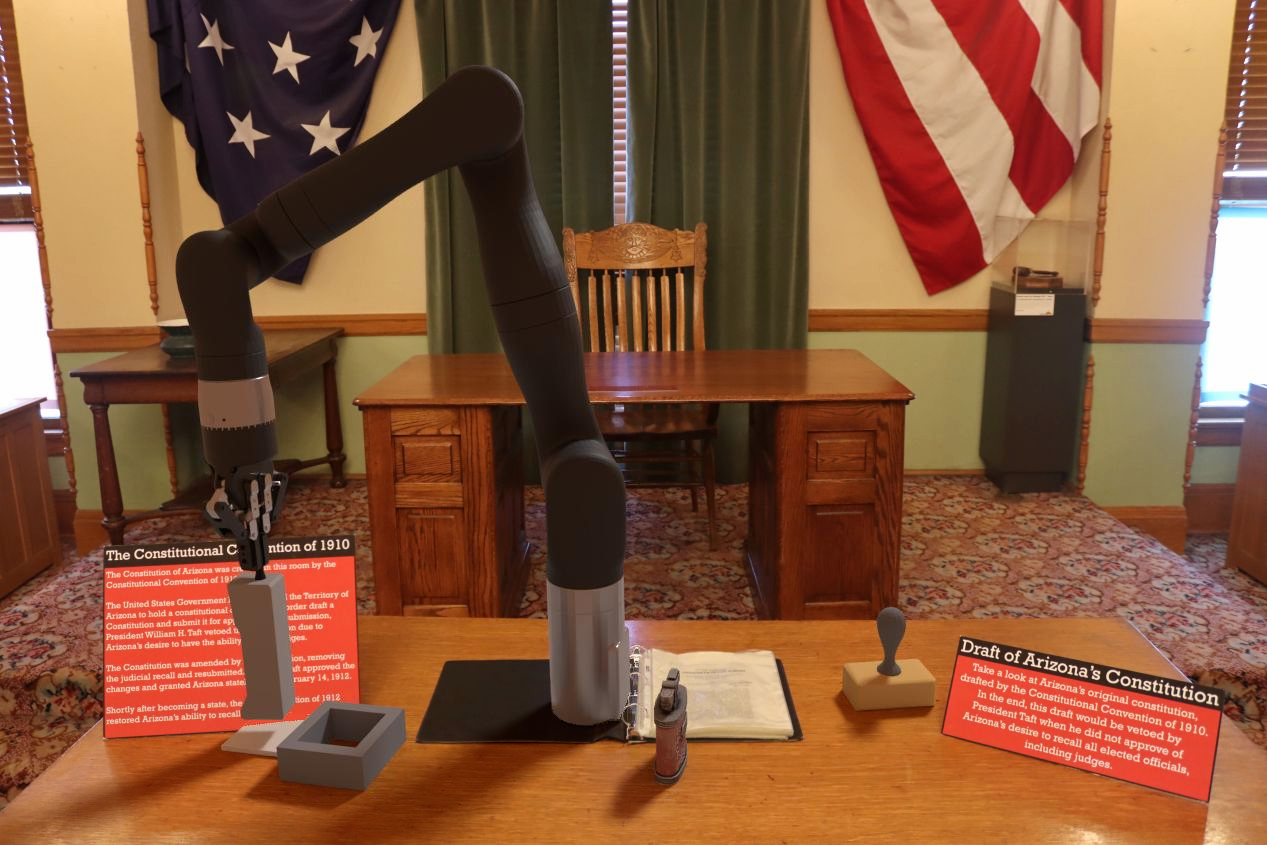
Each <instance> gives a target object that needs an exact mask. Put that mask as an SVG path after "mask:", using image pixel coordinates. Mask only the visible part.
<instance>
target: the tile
mask: <svg viewBox="0 0 1267 845" xmlns="http://www.w3.org/2000/svg"><path fill="white" fill-rule="evenodd" d="M303 721H304V720H297V721H296V720H295V721H290V722H289V721H285V722H284V721H283V722H276V723H275V722H274V723H267V724H266V723H265V724H260V725H259V724H258V725H257V724H256V725H249V726H248V725H247V726H244V725H243V726H242V727H241V728H240V729H239V730H237V731H236V732H235V733H234V734H233V735H232V736H230V737H229V738H227V740H226V741H225V742H224V743H222V744H221V745H220V748H221V749H220V750H221V751H223V752H231V753H232V752H233V753H241V754H248V755H249V754H250V755H257V756H266V757H276V758H277V750H276V747H277V746H278V745H279V744H280V743H281V742H282V741H283V740H284V739H285V738H286V737H287V736H289V735H290V734H291V733H292V732H293V731H294V730H295V729H296V728H297V727H298V726H299V725H300V724H301V723H302V722H303Z"/></svg>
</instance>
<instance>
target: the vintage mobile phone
mask: <svg viewBox="0 0 1267 845" xmlns="http://www.w3.org/2000/svg"><path fill="white" fill-rule="evenodd" d="M256 523H257V531H258V536H257V538H259V529H258V519H257V518H256ZM259 547H260V556H261V565H262V567H261V569H259V570H257V571H255V572H240V573H239V574H237V575H236V576H235V577H234V578H233V579H232V580H230V581H229V582H228V583H226V589H227V594H228V600H229V603H230V609H231V613H232V618H233V624H234V627H235V629H237V631H238V633H239V634H240V643H241V644H240V645H241V654H242V663H243V672H244V679H245V680H244V681H245V691H246V697H245V698H244V702H243V703H242V706H241V708H240V711H239V712H240V719H242V720H243V721H250V720H283V719H284V718H285V716H286V715H287V714H288V713H290V711H291V710H292V709H293V707H294V705H295V704H296V702H297V699H296V691H295V690H296V689H295V679H294V677H295V676H294V667H293V660H292V659H293V657H292V656H293V655H292V648H291V647H292V646H291V637H290V636H291V635H290V626H289V617H288V616H289V613H288V604H287V595H286V593H287V592H286V582H285V575H284V574H283V573H281V572H265V569H264V568H265V567H263V558H262V550H261V546H260V539H259Z"/></svg>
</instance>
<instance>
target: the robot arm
mask: <svg viewBox="0 0 1267 845" xmlns="http://www.w3.org/2000/svg"><path fill="white" fill-rule="evenodd" d="M455 167H457V170H458V171H459V175H460V177H461V180H462V182H463V185H464V188H465V190H466V192H467V195H468V199H469V202H470V205H471V208H472V213H473V215H474V222H475V227H476V228H475V229H476V234H477V243H478V252H479V259H480V263H481V264H480V265H481V271H482V277H483V280H484V282H483V283H484V286H485V290H486V294H487V295H486V296H487V298H488V303H489V306H490V309H491V310H490V311H491V315H492V317H493V320H494V325H495V328H496V331H497V334H498V335H497V336H498V338H499V341H500V344H501V346H502V350H503V351H504V354H505V357H506V359H507V360H506V361H507V362H508V364H509V367H510V369H511V372H512V374H513V376H514V379H515V381H516V383H517V386H518V387H519V389H520V391H521V393H522V396H523V399H524V402H525V404H526V407H527V410H528V412H529V416H530V419H531V420H530V421H531V424H532V430H533V435H534V440H535V446H536V451H537V458H538V464H539V474H540V482H541V486H542V491H543V494H544V497H545V498H544V499H545V502H544V503H545V523H546V525H545V526H546V556H545V572H546V574H545V576H546V595H547V596H546V598H547V599H546V600H547V601H546V602H547V624H548V625H547V626H548V629H547V630H548V649H549V650H548V651H549V655H548V656H549V676H550V699H551V711H552V710H553V711H552V713H553V715H554V714H555V715H556V716H557V717H558V719H559V720H560V721H562V720H563V722H565V723H568V724H571V723H572V724H571V725H575V724H576V725H577V726H595V725H594V724H595V723H600V722H603V721H606V720H609V719H615V720H616V719H620V717H621V714H622V711H623V709H624V707H625V705H626V703H627V700H628V695H629V692H630V693H631V657H630V655H631V654H630V628H629V627H627V626H626V625H625V623H626V620H625V580H624V579H625V577H624V575H625V574H624V572H625V570H624V569H625V566H624V563H625V558H626V556H627V531H628V530H627V529H628V528H627V526H628V524H627V521H628V520H627V511H628V510H627V509H628V508H627V488H626V487H627V486H626V481H625V480H626V479H625V478H624V474H623V472H622V469H621V467H620V466H619V465H618V463H617V462H616V459H614V457H613V455H612V453H611V452H610V450H609V447H608V446H607V444H606V441H605V438H604V437H603V433H602V432H601V430H600V427H599V423H598V421H597V417H596V415H595V411H594V409H593V406H592V402H591V400H590V399H591V398H590V397H589V391H588V387H587V379H586V367H585V366H586V364H585V363H586V362H585V350H584V343H583V342H584V341H583V337H582V329H581V325H580V320H579V314H578V310H577V306H576V302H575V298H574V294H573V292H572V288H571V284H570V279H569V276H568V273H567V270H566V267H565V265H564V262H563V259H562V258H563V257H562V256H561V252H560V250H559V248H558V246H557V242H556V240H555V238H554V237H555V236H554V235H553V232H552V231H551V229H550V226H549V224H548V221H547V219H546V217H545V214H544V212H543V210H542V206H541V205H540V201H539V199H538V197H537V193H536V190H535V185H534V181H533V180H534V179H533V175H532V171H531V165H530V159H529V154H528V148H527V141H526V133H525V104H524V100H523V97H522V94H521V92H520V90H519V87H518V86H517V85H516V83H515V82H514V81H513V79H511V78H510V77H509V75H507V74H505V73H504V72H502V71H501V70H500V69H497V68H494V67H492V66H489V65H483V64H472V65H471V64H470V65H468V66H463V67H460V68H458V69H457V70H455V71H454V72H452V73H451V74H450V75H449V76H448V77H447V78H446V79H445V80H444V81H443V82H442V83H440V84H439V86H437V87H436V88H435V89H434V90H433V91H432V92H430V93H429V94H428V95H426V96H425V98H423V99H422V100H421V101H420V102H418V103H417V104H416V105H415V106H413V108H411V109H410V110H409V111H407V112H406V113H405V114H403V115H402V116H401V117H399V118H398V119H396V120H395V121H394V122H392V123H391V124H390V125H388V126H386V127H385V128H384V129H382V130H381V131H379V132H377V133H376V134H375V135H373V136H371V137H369V138H367V139H366V140H365V141H362V142H361V143H359V144H357V145H356V146H354V147H352V148H350V149H349V150H347V151H345V152H343V153H341V154H339V155H338V156H336V157H333V158H332V159H330V160H328V161H326V162H324V163H323V164H321V165H319V166H317V167H315V168H313V169H311V170H310V171H308V172H307V173H304V174H303V175H301V176H299V177H297V178H295V179H294V180H292V181H290V182H289V183H287V184H285V185H283V186H281V187H280V188H278V189H277V190H275V191H273V192H272V193H270V194H268V195H267V196H266V197H264V199H262V200H261V201H260V202H259V203H258V204H257V207H256V209H254V210H252V211H250V212H249V213H247V214H246V215H244V216H242V217H240V218H239V219H236V220H234V222H232V223H229V224H227V225H225V226H223V227H220V229H213V230H211V229H208V230H200V231H197V232H195V233H192V234H191V235H189V236H188V237H186V238H185V239H184V241H182V243H181V244H180V246H179V247H178V250H177V252H176V257H175V269H174V270H175V280H176V285H177V291H178V294H179V297H180V302H181V304H182V308H183V311H184V314H185V317H186V321H187V323H188V327H189V328H190V330H191V333H192V336H193V341H194V342H193V348H194V349H193V350H194V355H195V364H196V372H197V374H196V375H197V379H198V380H197V383H198V384H197V387H198V391H197V401H198V402H197V403H198V404H197V405H198V412H199V418H200V420H199V421H200V428H201V437H202V444H203V452H204V459H205V461H206V463H207V464H209V465H211V466H212V467H213V469H214V471H215V477H214V481H213V488H214V490H215V491H214V493H213V495H212V497H211V499H210V500H202V501H201V502H200V504H199V509H200V512H201V513H202V514H203V516H204V517H205V518H206V520H207V521H208V522H209V523H210V525H211V526H212V527H213V528H214V530H215V531H216V533H218V535H219V536H220V537H221V539H223V540H234V541H235V542H236V549H237V555H238V556H237V559H238V565H239V567H240V569H241V570H242V571H243V572H253V573H256V571H257V570H259V569H261V567H262V565H261V556H260V547H259V539H260V546H261V550H262V558H263V568H265V566H268V565H269V563H270V556H269V555H270V551H269V542H268V534H269V533H270V530H271V525H272V523H273V524H274V523H275V524H277V522H278V521H279V517H280V515H281V510H282V507H283V503H284V499H285V494H286V490H287V487H288V483H289V478H290V477H289V473H287V472H279V471H277V470H275V465H274V462H273V460H274V459H275V458H277V457H278V455H279V453H280V448H279V438H278V437H279V436H278V429H277V428H278V427H277V419H276V412H275V411H276V409H275V399H274V393H273V388H272V384H271V381H270V376H269V367H268V356H267V348H266V341H265V337H264V333H263V330H262V327H261V326H260V325H259V324H257V323H256V322H255V320H254V319H255V318H254V315H253V309H252V302H251V295H250V290H253V289H254V288H256V287H258V286H260V285H261V284H263V283H264V282H266V281H268V280H269V279H271V278H272V277H273V276H275V275H276V274H277V273H279V272H280V271H282V270H283V269H286V267H287V266H289V265H291V263H292V262H294V261H295V260H297V259H300V258H303V257H304V256H306V255H309V254H311V253H313V252H315V251H316V250H318V249H320V248H322V247H323V246H325V245H327V244H328V243H331V242H332V241H334V240H335V239H337V238H339V237H341V236H342V235H344V234H346V233H347V232H349V231H351V230H353V229H354V228H356V227H357V226H358V225H360V224H361V223H364V221H366V220H367V219H369V218H370V217H372V216H373V215H374V214H376V213H377V212H378V211H380V210H381V209H383V208H384V207H385V206H387V205H388V204H390V203H391V202H392V201H394V200H395V199H396V198H398V197H400V196H401V195H402V194H404V193H405V192H407V191H408V190H410V189H412V188H413V187H415V186H417V185H418V184H421V183H422V182H425V181H426V180H428V179H430V178H432V177H434V176H436V175H439V173H440V174H441V173H442V172H444V171H447V170H451V169H453V168H455ZM256 518H257V519H258V529H259V538H257V536H258V531H257V523H256ZM242 521H243V523H244V525H243V524H242ZM555 715H554V716H555ZM557 717H556V718H557Z"/></svg>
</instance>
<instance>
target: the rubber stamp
mask: <svg viewBox="0 0 1267 845" xmlns="http://www.w3.org/2000/svg"><path fill="white" fill-rule="evenodd" d="M906 622H907V621H906V618H905V616H904V613H903V612H902V611H901V610H900V609H899V608H897V607H894V606H887V607H886V608H883V609H882V610H881V611H880V612H879V614H878V616H877V618H876V628H877V634H878V637H879V639H880V643H881V645H882V648H883V653H884V659H883V660H876V661H875V660H874V661H859V662H846V663H844V664H843V665H842V683H841V685H842V686H841V691H842V692H843V694H844V695H845V697H846V698H847V700H848V701H849V703H850V705H851V706H852V707H853V709H854V711H855V712H861V711H862V712H863V711H874V710H877V711H879V710H880V711H881V710H892V709H907V708H923V707H934V706H935V705H936V689H937V688H936V685H937V679H936V677H935V676H934V675H933V674H932V673H931V672H930V671H929V669H927V667H926V666H925V664H923V662H922V661H921V660H920V659H918V658H909V659H896V654H897V651H898V648H899V647H900V644H901V643H902V640H903V639H904V636H905V633H906V630H907V629H906V628H907V623H906Z"/></svg>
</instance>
